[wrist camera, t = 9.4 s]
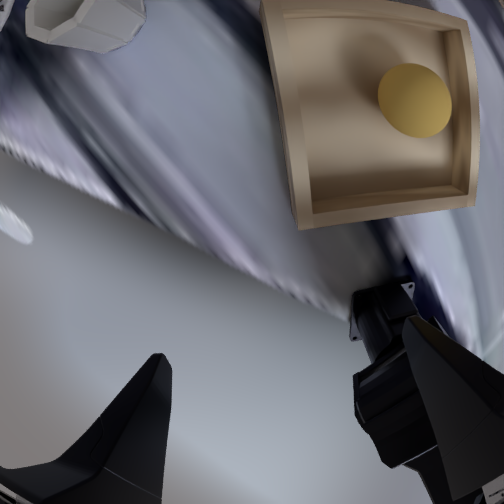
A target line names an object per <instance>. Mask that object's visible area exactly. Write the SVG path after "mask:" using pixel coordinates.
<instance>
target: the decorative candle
mask: <svg viewBox="0 0 504 504" xmlns="http://www.w3.org/2000/svg"><path fill="white" fill-rule="evenodd" d="M14 1H15V0H0V32H1V30H2V28H3V26H4V24H5V22H6V20H7V19H8V17H9V15H10V12H11V9H12V6H13V3H14Z"/></svg>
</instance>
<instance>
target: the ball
mask: <svg viewBox="0 0 504 504" xmlns="http://www.w3.org/2000/svg"><path fill="white" fill-rule="evenodd" d="M378 102H379V106H380V109H381V111H382V113H383V115H384V117H385V118H386V120H387V121H388V122H389V123H390V124H391V125H392V126H393V127H394V128H395V129H396V130H398V131H399V132H401V133H403V134H405V135H407V136H410V137H414V138H427V137H431V136H434V135H435V134H437V133H439V132H440V131H441V130H442V129H444V127H445V126H446V125H447V123H448V121H449V119H450V116H451V111H452V102H451V96H450V93H449V91H448V88H447V86H446V85H445V83H444V82H443V80H442V79H441V78H440V77H439V76H438V75H437V74H436V73H435V72H433V71H432V70H430V69H429V68H427V67H425V66H422V65H419V64H414V63H404V64H399V65H397V66H395V67H393V68H391V69H390V70H388V71H387V72H386V73H385V75H384V76H383V77H382V79H381V81H380V84H379V88H378Z"/></svg>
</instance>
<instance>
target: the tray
mask: <svg viewBox="0 0 504 504" xmlns="http://www.w3.org/2000/svg"><path fill="white" fill-rule="evenodd" d="M259 14H260V19H261V23H262V28H263V33H264V38H265V43H266V48H267V53H268V58H269V64H270V69H271V75H272V80H273V86H274V92H275V97H276V103H277V109H278V116H279V122H280V128H281V135H282V141H283V148H284V155H285V162H286V169H287V177H288V184H289V192H290V200H291V208H292V214H293V217H294V219H295V222H296V225H297V227H298V230H299V231H300V230H307V229H313V228H320V227H327V226H333V225H340V224H347V223H354V222H361V221H368V220H375V219H382V218H389V217H396V216H403V215H410V214H418V213H425V212H432V211H440V210H447V209H455V208H463V207H471V206H475V201H476V192H477V182H478V170H479V151H480V115H479V96H478V84H477V75H476V67H475V60H474V54H473V48H472V42H471V37H470V33H469V28H468V24H467V21H466V20H464V19H461V18H458V17H455V16H451V15H448V14H445V13H441V12H438V11H434V10H430V9H426V8H422V7H418V6H414V5H409V4H404V3H399V2H393V1H387V0H261V2H260V8H259ZM404 63H414V64H419V65H422V66H425V67H427V68H429V69H430V70H432V71H433V72H435V73H436V74H437V75H438V76H439V77H440V78H441V79H442V80H443V82H444V83H445V85H446V86H447V88H448V91H449V93H450V96H451V102H452V111H451V116H450V119H449V121H448V123H447V125H446V126H445V127H444V129H442V130H441V131H440V132H439V133H437V134H435V135H434V136H431V137H427V138H414V137H410V136H407V135H405V134H403V133H401V132H399V131H398V130H396V129H395V128H394V127H393V126H392V125H391V124H390V123H389V122H388V121H387V120H386V118H385V117H384V115H383V113H382V111H381V109H380V106H379V102H378V88H379V84H380V81H381V79H382V77H383V76H384V75H385V73H386V72H387V71H388V70H390V69H391V68H393V67H395V66H397V65H399V64H404Z"/></svg>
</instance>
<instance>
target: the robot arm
mask: <svg viewBox="0 0 504 504" xmlns="http://www.w3.org/2000/svg"><path fill="white" fill-rule="evenodd" d="M410 284H411V285H410ZM409 285H410V286H409ZM414 287H415V283H414V282H413V280H407V281H402V282H397V283H393V284H388V285H383V286H379V287H374V288H369V289H364V290H359V291H356V292H354V293H353V295H352V309H351V322H350V335H349V337H350V340H351V341H358V340H363V343H364V345H365V348H366V351H367V353H368V356H369V358H370V361H371V365H369V366H368V367H366V368H365V369H363V370H362V371H360V372H357V373H356V374H354V375H353V389H354V408H355V417H356V418H357V420H358V423H359V424H360V425H361V427H362V428H363V430H364V431H365V432H366V433H367V434H369V435H370V437H371V439H372V440H373V442H374V444H375V446H376V448H377V451H378V453H379V456H380V458H381V461H382V462H383V463H384V464H386V465H387V466H388V467H390V468H392V469H393V468H396V467H398V466H400V465H404V466H406V467H408V468H410V469H412V470H415V471H417V472H418V474H419V475H420V477H421V479H422V481H423V483H424V485H425V487H426V489H427V492H428V494H429V496H430V498H431V500H432V502H433V504H504V374H502V373H501V372H499V371H497V370H496V369H494V368H493V367H491V366H490V365H489V364H487V363H486V362H484V361H482V360H481V359H480V358H479V357H477V356H476V355H474V354H473V353H471V352H470V351H469V350H467V349H466V348H464V347H463V346H461V345H460V344H459V343H457V342H456V341H454V340H453V339H451V338H450V337H449V336H448V335H447V333H446V332H445V331H444V329H443V328H442V327H441V325H440V324H439V323H438V321H437V320H436V319H435V317H434V316H432V317H430V318H429V319H428V321H427V322H426V321H425V320H423V319H422V318H421V316H420V315H419V313H418V309H417V308H416V306H415V305H414V303H413V302H412V297H413V292H414ZM359 295H360V296H359ZM357 296H359V297H357ZM171 398H172V368H171V365H170V364H169V362H168V360H167V358H166V356H165V355H164V354H163V353H155V354H153V355H151V356H150V358H149V359H148V360H147V361H146V362H145V364H144V365H143V366H142V367H141V368H140V369H139V371H138V372H137V373H136V374H135V375H134V376H133V378H132V379H131V380H130V381H129V382H128V383H127V384H126V386H125V387H124V388H123V389H122V390H121V391H120V393H119V394H118V395H117V396H116V397H115V398H114V400H113V401H112V402H111V403H110V404H109V405H108V407H107V408H106V409H105V410H104V411H103V413H102V414H101V415H100V417H98V418H97V420H96V421H95V422H94V423H93V424H92V425H91V427H90V428H89V429H88V430H87V431H86V432H85V433H84V434H83V435H82V436H81V437H80V438H79V439H78V440H77V441H76V442H75V443H74V444H73V445H72V446H71V447H70V448H69V449H67V450H66V451H65V452H64V453H63V454H62V455H61V456H60V457H59V458H57V459H56V460H54V461H51V462H48V463H44V464H39V465H34V466H29V467H23V468H17V469H6V468H3V467H1V466H0V483H1V484H2V485H3V486H5V487H6V488H8V489H9V490H11V491H13V492H14V493H16V494H17V495H16V498H14V497H12V496H10V495H8V494H7V493H5V492H3V491H1V490H0V504H161V501H162V499H161V498H162V488H163V476H164V465H165V455H166V447H167V438H168V430H169V421H170V413H171V402H172V401H171V400H172V399H171Z"/></svg>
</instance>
